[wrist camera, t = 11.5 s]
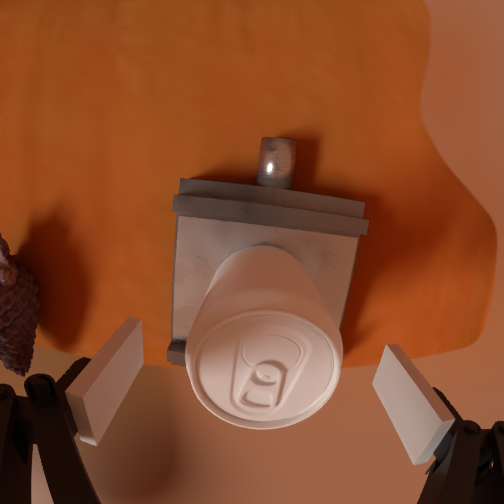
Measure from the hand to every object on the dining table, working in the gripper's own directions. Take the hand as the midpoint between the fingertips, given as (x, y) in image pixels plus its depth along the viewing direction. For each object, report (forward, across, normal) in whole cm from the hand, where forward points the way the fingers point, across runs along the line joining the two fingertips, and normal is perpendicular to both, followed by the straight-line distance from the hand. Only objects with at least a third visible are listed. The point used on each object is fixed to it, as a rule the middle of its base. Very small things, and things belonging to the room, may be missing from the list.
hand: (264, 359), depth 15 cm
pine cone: (+14, -28, -6) cm, 32 cm away
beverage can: (+10, 0, 0) cm, 11 cm away
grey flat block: (+13, 0, 0) cm, 13 cm away
